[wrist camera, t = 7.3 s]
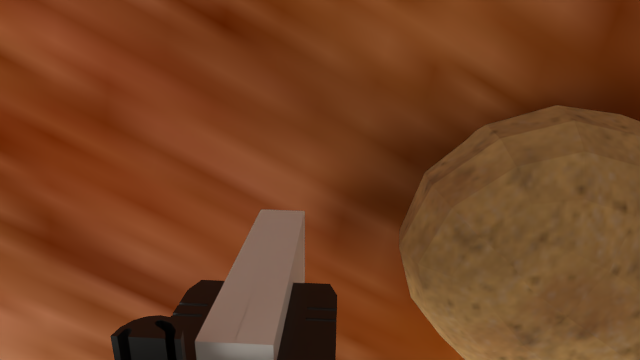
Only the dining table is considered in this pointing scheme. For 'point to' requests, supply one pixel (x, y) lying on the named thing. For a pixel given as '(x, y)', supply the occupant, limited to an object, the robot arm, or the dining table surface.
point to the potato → (532, 239)
